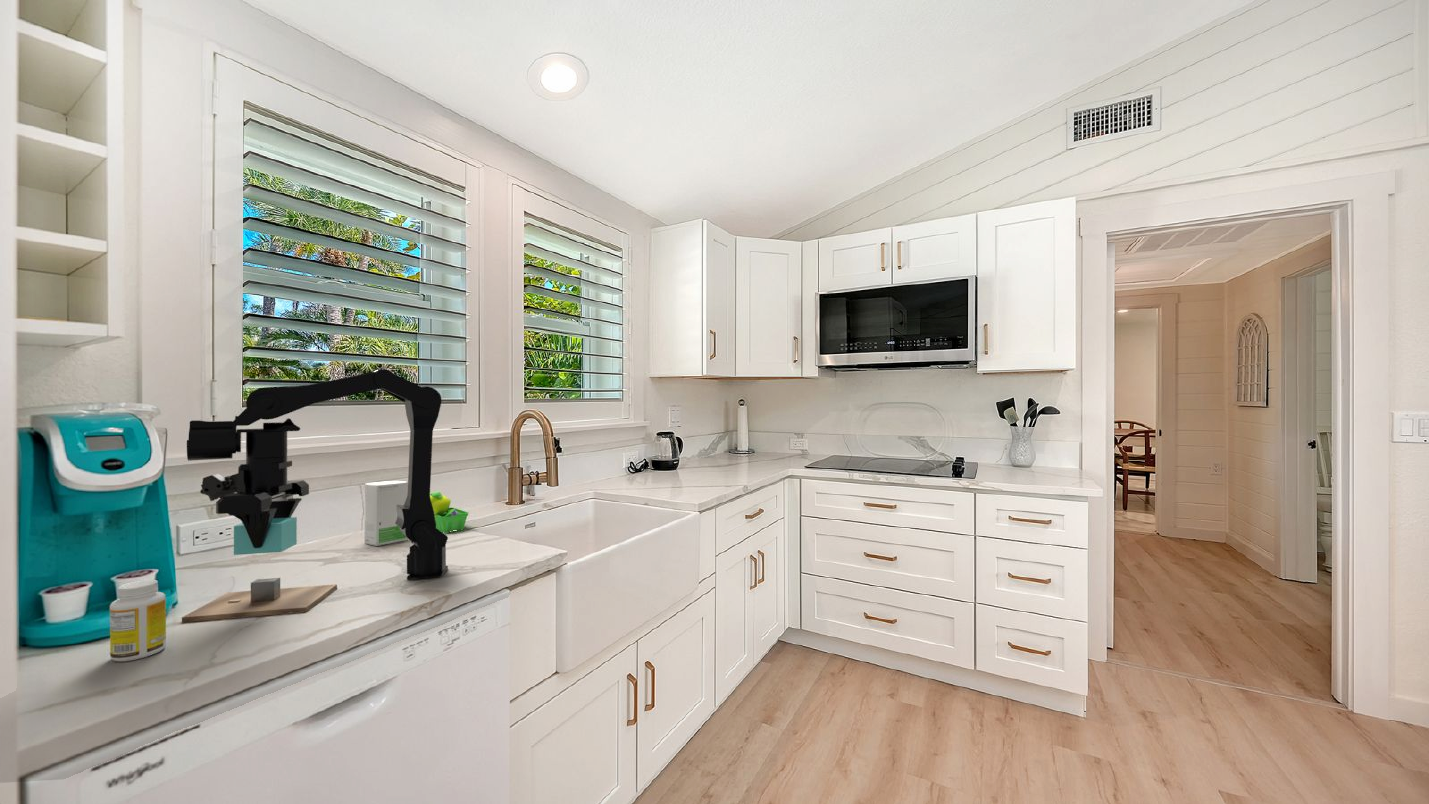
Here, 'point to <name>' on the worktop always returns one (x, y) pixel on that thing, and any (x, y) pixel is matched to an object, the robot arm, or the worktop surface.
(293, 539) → the teal hollow block
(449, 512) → the fruit basket
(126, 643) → the supplement bottle
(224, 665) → the worktop surface
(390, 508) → the skincare box
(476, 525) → the worktop surface
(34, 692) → the worktop surface
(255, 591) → the grey rectangular block
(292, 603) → the base plate
